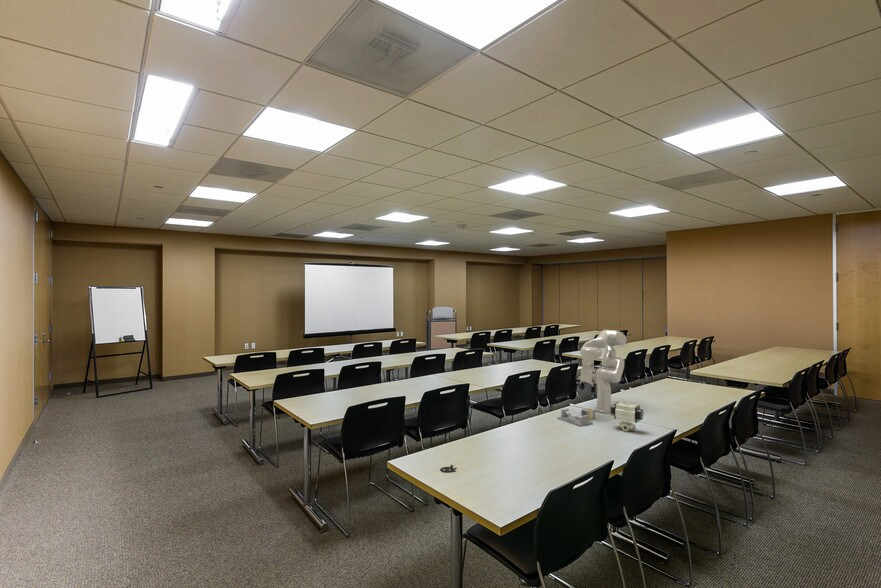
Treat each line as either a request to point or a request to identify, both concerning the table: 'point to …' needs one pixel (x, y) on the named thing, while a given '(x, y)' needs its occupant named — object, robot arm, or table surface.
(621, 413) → the ball valve
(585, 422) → the shaft stand
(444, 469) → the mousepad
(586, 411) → the coupler
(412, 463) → the table surface
